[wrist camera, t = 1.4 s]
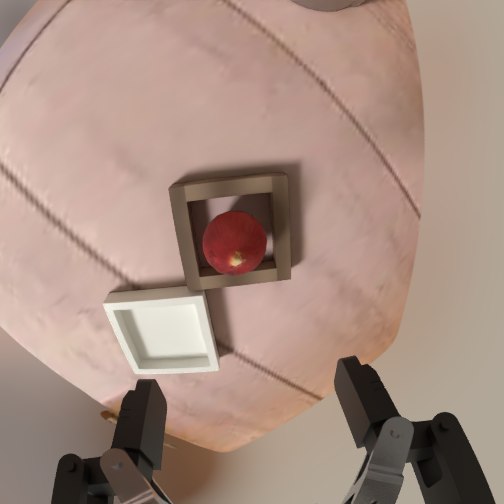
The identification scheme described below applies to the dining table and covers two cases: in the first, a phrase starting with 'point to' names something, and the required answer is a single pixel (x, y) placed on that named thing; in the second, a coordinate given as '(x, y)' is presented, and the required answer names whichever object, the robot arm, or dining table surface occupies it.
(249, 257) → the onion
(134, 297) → the tray
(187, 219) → the frame
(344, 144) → the dining table surface
